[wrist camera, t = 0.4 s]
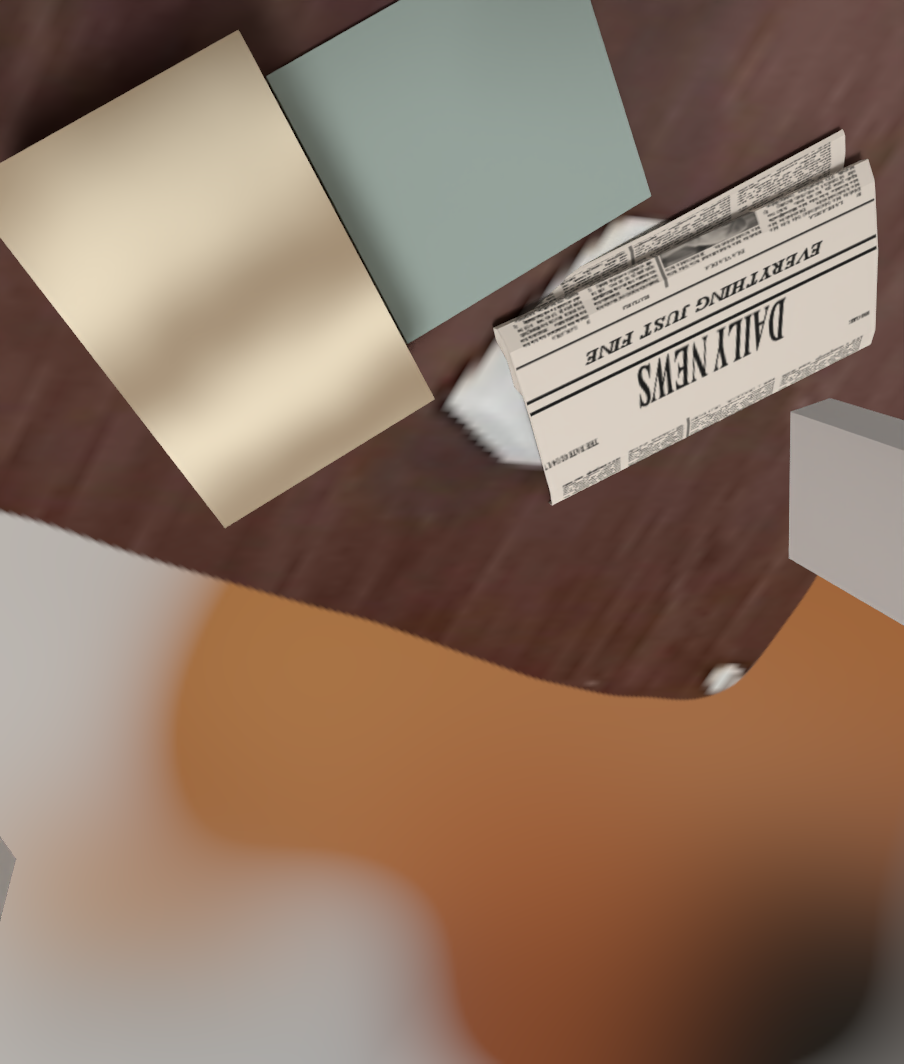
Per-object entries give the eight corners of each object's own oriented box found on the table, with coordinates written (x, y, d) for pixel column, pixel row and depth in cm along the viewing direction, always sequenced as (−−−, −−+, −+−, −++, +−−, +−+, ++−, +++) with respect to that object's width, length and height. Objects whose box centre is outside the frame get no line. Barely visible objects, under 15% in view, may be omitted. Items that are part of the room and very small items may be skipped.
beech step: (2, 190, 28) (-40, 185, 23) (229, 62, 29) (238, 29, 24) (219, 480, 35) (224, 528, 30) (398, 371, 36) (434, 399, 30)
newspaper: (841, 122, 39) (881, 122, 37) (842, 336, 45) (875, 346, 43) (459, 295, 36) (478, 306, 34) (521, 497, 42) (541, 516, 40)
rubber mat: (265, 77, 29) (266, 75, 29) (558, -89, 30) (561, -92, 30) (406, 342, 35) (407, 343, 35) (647, 196, 36) (651, 196, 36)
